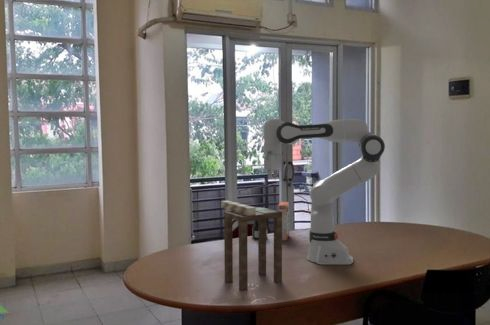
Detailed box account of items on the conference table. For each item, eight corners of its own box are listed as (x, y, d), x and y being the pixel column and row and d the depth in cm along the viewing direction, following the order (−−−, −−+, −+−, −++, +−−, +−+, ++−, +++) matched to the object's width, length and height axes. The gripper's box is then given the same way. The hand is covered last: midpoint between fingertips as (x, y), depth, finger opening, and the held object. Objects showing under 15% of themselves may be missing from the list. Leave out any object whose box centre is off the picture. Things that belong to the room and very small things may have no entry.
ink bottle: (255, 240, 266) (255, 220, 265) (249, 237, 274) (249, 217, 274) (270, 238, 270) (270, 218, 269) (263, 235, 278) (263, 216, 277)
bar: (221, 207, 203) (221, 201, 202) (227, 207, 205) (227, 200, 204) (248, 215, 184) (248, 208, 184) (255, 214, 186) (255, 207, 186)
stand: (224, 281, 195) (224, 211, 193) (262, 272, 206) (262, 206, 204) (242, 290, 184) (242, 216, 181) (281, 281, 194) (282, 211, 192)
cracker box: (287, 241, 264) (287, 205, 262) (276, 240, 265) (277, 205, 264) (289, 235, 278) (289, 201, 276) (280, 235, 279) (280, 201, 277)
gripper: (273, 150, 216) (273, 179, 216) (283, 152, 236) (283, 178, 235) (260, 150, 218) (260, 179, 218) (271, 152, 238) (271, 178, 237)
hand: (272, 179), depth 227 cm, fingers open, 8 cm apart
